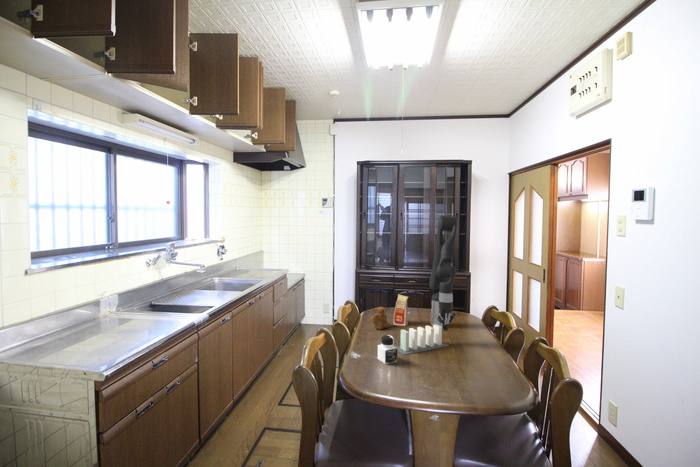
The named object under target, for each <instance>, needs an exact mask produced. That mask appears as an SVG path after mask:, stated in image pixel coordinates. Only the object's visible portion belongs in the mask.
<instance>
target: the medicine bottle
mask: <svg viewBox="0 0 700 467" xmlns="http://www.w3.org/2000/svg"><path fill="white" fill-rule="evenodd" d="M380 340H381V341H380V342H381V344H378V345H377V360H378V361H380V362H382V363H383V364H384V365H389V364H394V363H397V362H398V351H397V346H395V345H394V344H395V338H394V337H393V336H392V335H391V334H390V335H388V334H385V335H382V336H381V338H380Z"/></svg>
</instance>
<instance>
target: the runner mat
mask: <svg viewBox="0 0 700 467" xmlns="http://www.w3.org/2000/svg"><path fill="white" fill-rule="evenodd" d="M396 347H397V353H400V354H401V355H403V356H406V355H411V354H416V353H420V352H425V351H432V350H437V349H442V348H447V347H450V345H449V344H447V343H445V342H443V341H442V345H438V344H436V343H434V346H432V347H430V346H429V345H427V344H426V348H421V347H420V346H418V345H417V349H416V350H414V349H412V348H410V347H409V351H404V350H403V349H401V348H400V345H399V346H396Z"/></svg>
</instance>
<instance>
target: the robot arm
mask: <svg viewBox="0 0 700 467" xmlns="http://www.w3.org/2000/svg"><path fill="white" fill-rule="evenodd" d="M457 229H458V218H457V217H456V216H449V215H440V216H439V218H438V221H437V235H436V242H435V249H434V253H433V254H434V255H433V262H432V268H431V273H430V278H429V288H430V290H432V291H438V292H436V293H434V294H432V295H431V309H430V325H431V327H433V325H435V324H437V325H439V326H441V327H442V331H444V332H448V330H449V324H451V323H452V322H453V320H454V318H455V316H456V313H454V312H453V304H454V303H453V302H454V300H453V299H454V296H453V285H454V280H455V277H456V276H457V269H456V267H455V266H454V265H448V264H452V263H453V262H454V251H455V250H454V249H455V248H454V247H455V242H456V237H457V236H456V235H457ZM443 232H450V235H449V237H448V238H447V239H446V240H445V236H444V233H443Z"/></svg>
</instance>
